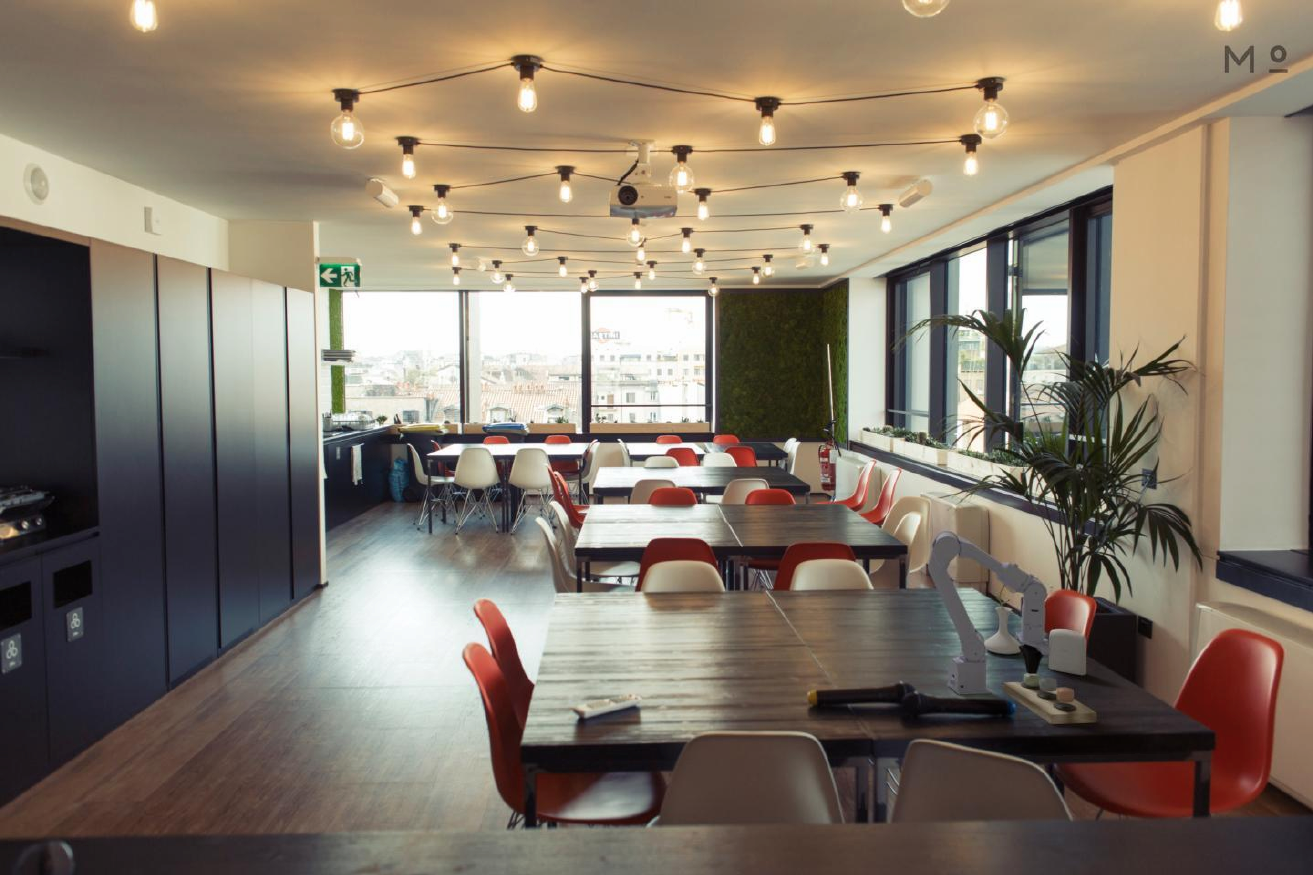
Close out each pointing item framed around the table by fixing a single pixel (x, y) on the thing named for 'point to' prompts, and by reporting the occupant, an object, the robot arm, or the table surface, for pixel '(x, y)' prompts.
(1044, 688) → the button slate
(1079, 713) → the button panel
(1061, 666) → the photo printer
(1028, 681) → the button sage
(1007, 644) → the flower in vase
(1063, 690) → the button terracotta
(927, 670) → the table surface
